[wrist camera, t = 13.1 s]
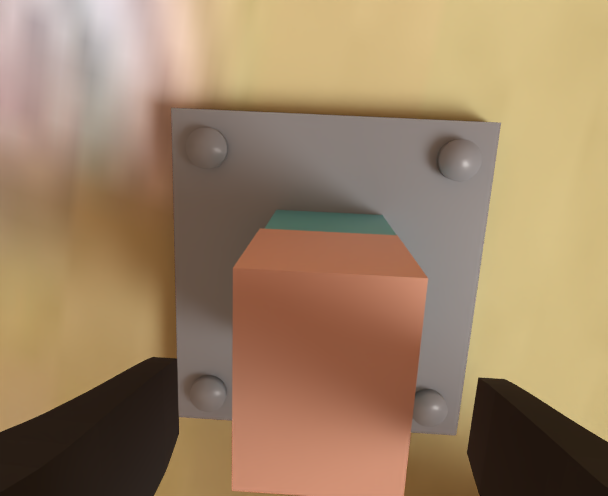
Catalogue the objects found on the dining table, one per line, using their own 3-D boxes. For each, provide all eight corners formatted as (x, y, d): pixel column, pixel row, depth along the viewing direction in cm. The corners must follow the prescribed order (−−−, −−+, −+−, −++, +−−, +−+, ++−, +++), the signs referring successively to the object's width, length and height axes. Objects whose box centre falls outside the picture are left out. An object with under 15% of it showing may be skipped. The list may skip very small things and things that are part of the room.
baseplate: (449, 420, 23) (459, 442, 21) (185, 402, 23) (175, 423, 21) (490, 123, 19) (505, 122, 18) (180, 109, 20) (167, 107, 18)
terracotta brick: (382, 402, 16) (403, 502, 12) (256, 395, 16) (231, 490, 12) (397, 235, 15) (428, 278, 10) (259, 228, 15) (233, 267, 10)
